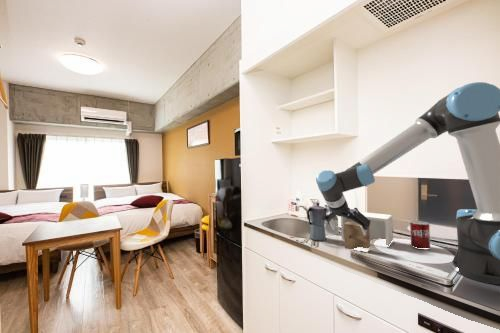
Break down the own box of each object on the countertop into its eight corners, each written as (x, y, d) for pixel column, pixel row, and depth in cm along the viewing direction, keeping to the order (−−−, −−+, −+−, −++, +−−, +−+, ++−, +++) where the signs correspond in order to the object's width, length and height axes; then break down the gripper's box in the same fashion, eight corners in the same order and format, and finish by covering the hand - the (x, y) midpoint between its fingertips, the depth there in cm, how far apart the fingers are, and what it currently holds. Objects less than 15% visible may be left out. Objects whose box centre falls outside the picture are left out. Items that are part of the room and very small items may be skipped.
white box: (393, 242, 111) (392, 215, 111) (388, 248, 103) (387, 219, 103) (348, 234, 126) (347, 210, 126) (341, 239, 118) (340, 213, 118)
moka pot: (332, 237, 121) (331, 202, 121) (317, 244, 111) (315, 205, 111) (318, 234, 128) (316, 200, 128) (302, 240, 118) (300, 203, 119)
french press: (324, 234, 127) (323, 192, 127) (321, 229, 138) (319, 190, 138) (342, 234, 125) (340, 192, 125) (337, 229, 136) (335, 190, 137)
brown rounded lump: (370, 250, 101) (369, 224, 101) (366, 253, 98) (365, 227, 98) (348, 245, 108) (347, 221, 108) (344, 248, 104) (343, 224, 104)
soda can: (434, 251, 98) (433, 224, 98) (416, 250, 100) (415, 224, 100) (424, 245, 105) (423, 220, 105) (407, 244, 107) (406, 220, 107)
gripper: (305, 205, 95) (320, 231, 106) (367, 212, 78) (378, 242, 89) (310, 192, 99) (325, 219, 110) (371, 196, 82) (380, 227, 93)
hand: (349, 229), depth 100 cm, fingers open, 13 cm apart
